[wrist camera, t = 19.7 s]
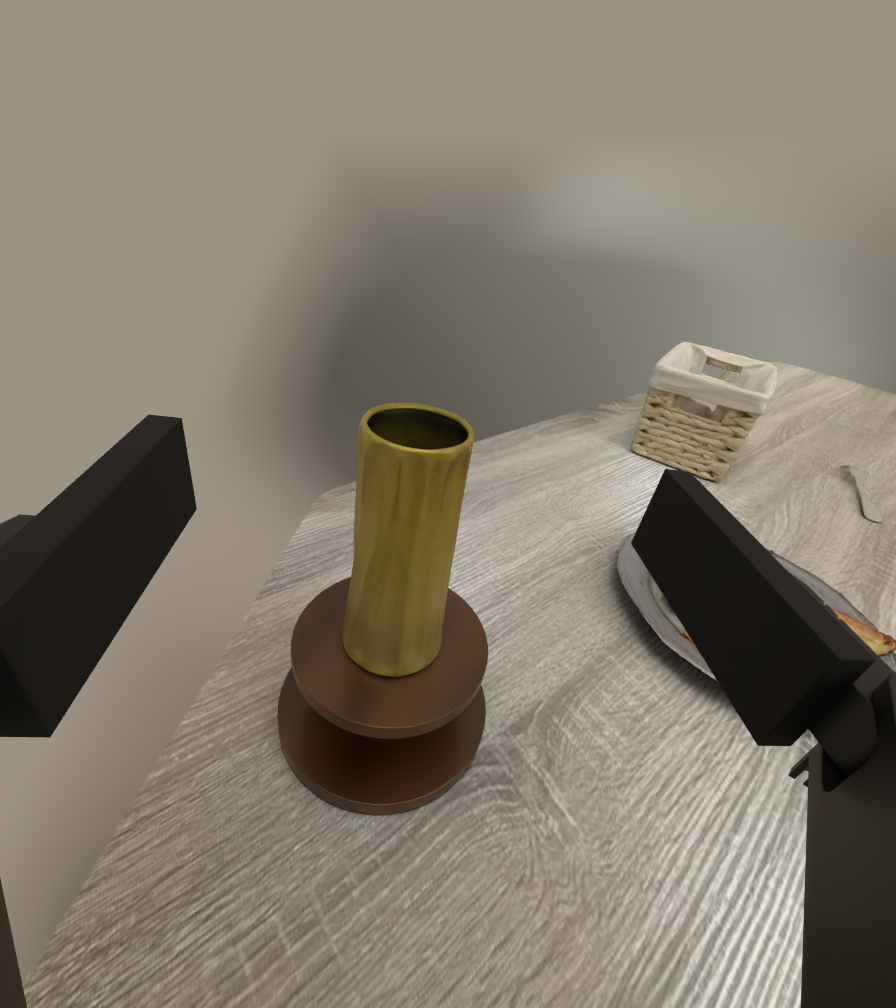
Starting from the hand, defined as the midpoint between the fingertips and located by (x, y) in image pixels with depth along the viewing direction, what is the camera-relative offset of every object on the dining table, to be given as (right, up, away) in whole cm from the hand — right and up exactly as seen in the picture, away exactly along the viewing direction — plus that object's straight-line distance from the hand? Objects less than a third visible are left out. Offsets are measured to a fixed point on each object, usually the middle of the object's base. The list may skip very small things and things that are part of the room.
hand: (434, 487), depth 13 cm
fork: (+67, +1, +64) cm, 92 cm away
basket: (+41, +9, +69) cm, 80 cm away
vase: (-3, -9, +16) cm, 19 cm away
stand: (-4, -15, +20) cm, 25 cm away
